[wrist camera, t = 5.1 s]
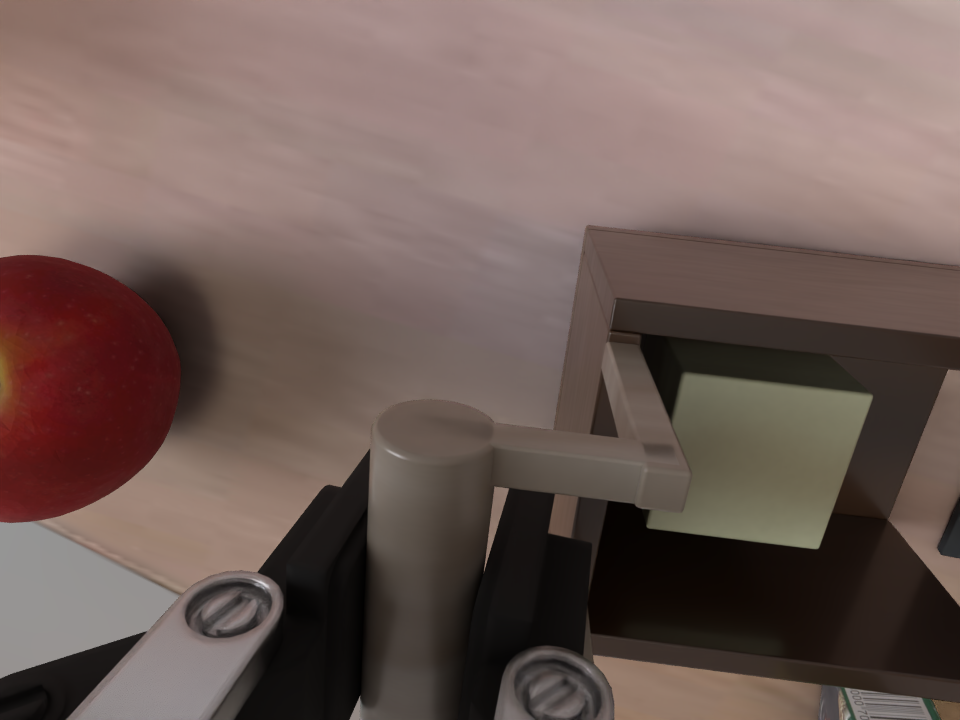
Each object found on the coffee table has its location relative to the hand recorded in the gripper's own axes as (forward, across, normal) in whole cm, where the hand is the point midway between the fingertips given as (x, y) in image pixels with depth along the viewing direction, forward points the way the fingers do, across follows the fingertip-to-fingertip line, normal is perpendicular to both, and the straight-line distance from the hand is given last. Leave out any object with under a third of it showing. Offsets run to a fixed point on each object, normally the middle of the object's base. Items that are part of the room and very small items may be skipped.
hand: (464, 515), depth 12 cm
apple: (+10, +14, +3) cm, 17 cm away
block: (+8, -5, 0) cm, 9 cm away
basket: (+8, -4, 0) cm, 9 cm away
